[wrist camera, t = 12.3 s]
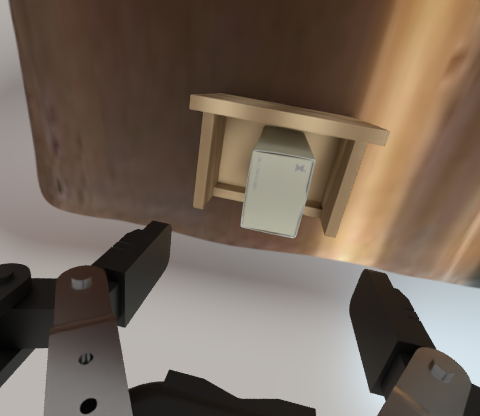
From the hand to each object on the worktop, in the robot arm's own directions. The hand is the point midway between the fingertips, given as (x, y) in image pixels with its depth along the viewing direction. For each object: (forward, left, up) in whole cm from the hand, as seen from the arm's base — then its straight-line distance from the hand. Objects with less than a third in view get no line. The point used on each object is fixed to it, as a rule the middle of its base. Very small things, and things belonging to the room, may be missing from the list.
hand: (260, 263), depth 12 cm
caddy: (0, 0, -22) cm, 22 cm away
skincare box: (0, 0, -21) cm, 21 cm away
